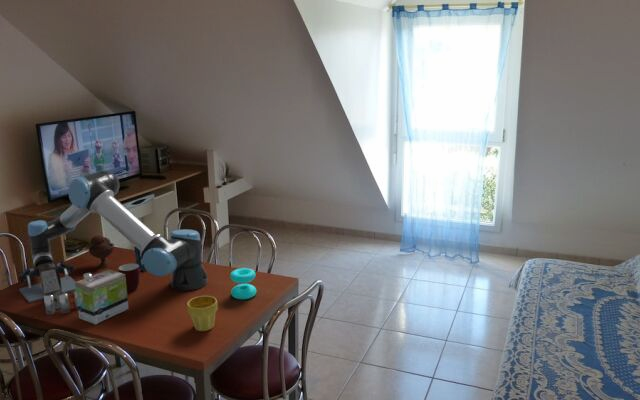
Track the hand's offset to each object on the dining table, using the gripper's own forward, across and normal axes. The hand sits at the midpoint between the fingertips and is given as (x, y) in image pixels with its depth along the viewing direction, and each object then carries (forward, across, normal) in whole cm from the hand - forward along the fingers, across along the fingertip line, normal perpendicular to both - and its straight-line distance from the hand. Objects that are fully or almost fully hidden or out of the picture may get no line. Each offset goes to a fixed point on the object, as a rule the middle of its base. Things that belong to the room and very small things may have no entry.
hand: (48, 280), depth 225 cm
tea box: (+23, -16, -9) cm, 30 cm away
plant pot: (+53, -45, -9) cm, 70 cm away
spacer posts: (+6, -7, -8) cm, 12 cm away
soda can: (-14, -40, -8) cm, 43 cm away
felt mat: (-12, -1, -8) cm, 14 cm away
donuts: (+35, -67, -9) cm, 76 cm away
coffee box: (+5, 0, -8) cm, 10 cm away
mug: (+7, -28, -8) cm, 30 cm away
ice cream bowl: (-27, -24, -8) cm, 37 cm away
